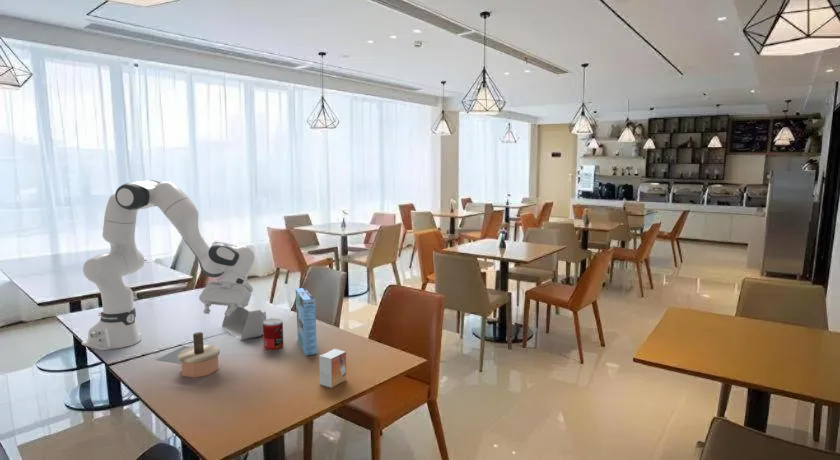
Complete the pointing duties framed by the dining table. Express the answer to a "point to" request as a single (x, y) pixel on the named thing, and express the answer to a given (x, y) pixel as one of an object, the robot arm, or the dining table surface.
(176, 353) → the mat
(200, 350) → the lid
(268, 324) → the canned food
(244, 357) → the dining table surface
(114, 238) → the robot arm
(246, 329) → the grey open bin
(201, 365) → the bowl
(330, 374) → the small box
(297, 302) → the blue cereal box
